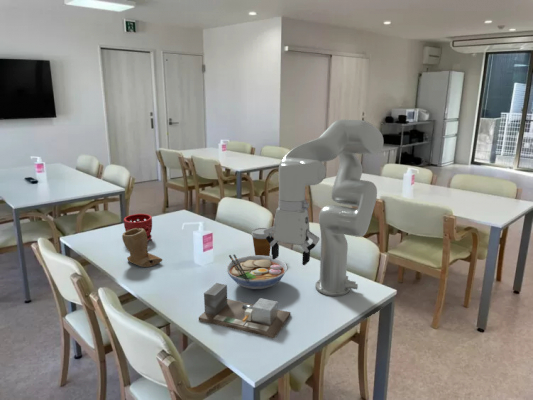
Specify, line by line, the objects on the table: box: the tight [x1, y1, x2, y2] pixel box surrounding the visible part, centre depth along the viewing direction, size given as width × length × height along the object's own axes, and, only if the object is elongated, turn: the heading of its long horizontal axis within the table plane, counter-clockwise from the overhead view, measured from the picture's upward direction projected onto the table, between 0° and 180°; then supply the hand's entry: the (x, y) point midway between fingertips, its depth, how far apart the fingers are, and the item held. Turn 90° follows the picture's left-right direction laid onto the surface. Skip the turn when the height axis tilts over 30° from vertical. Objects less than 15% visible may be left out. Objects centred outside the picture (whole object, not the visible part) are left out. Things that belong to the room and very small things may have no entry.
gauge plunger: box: [242, 297, 278, 325], centre depth 129 cm, size 10×6×5 cm, turn 67°
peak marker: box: [242, 308, 252, 322], centre depth 127 cm, size 2×5×3 cm, turn 157°
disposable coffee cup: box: [251, 227, 273, 256], centre depth 180 cm, size 10×10×12 cm
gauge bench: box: [198, 282, 291, 339], centre depth 131 cm, size 26×14×8 cm, turn 67°
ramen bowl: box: [226, 254, 288, 290], centre depth 154 cm, size 25×23×8 cm
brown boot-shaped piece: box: [121, 228, 163, 268], centre depth 173 cm, size 15×12×15 cm
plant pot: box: [123, 213, 153, 242], centre depth 200 cm, size 13×13×12 cm
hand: (290, 260), depth 122 cm, fingers open, 9 cm apart
